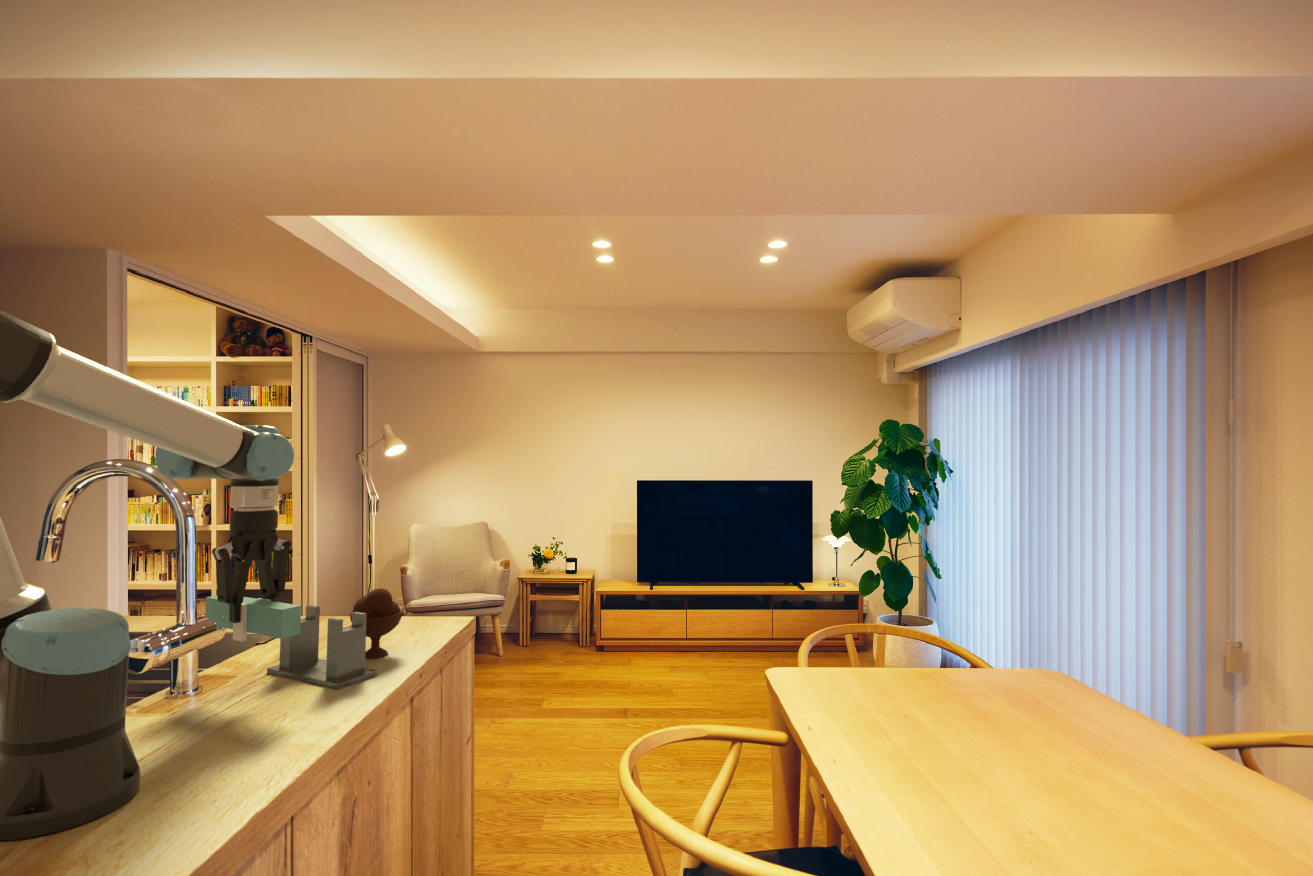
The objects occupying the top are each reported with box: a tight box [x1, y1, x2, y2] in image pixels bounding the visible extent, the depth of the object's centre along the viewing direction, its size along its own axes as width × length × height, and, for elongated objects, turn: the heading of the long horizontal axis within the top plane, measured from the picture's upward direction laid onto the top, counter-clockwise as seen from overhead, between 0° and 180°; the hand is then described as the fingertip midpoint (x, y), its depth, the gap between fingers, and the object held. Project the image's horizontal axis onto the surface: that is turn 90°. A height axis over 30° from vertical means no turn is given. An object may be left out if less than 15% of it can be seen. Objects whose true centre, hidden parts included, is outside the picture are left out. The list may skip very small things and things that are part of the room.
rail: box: [204, 595, 302, 639], centre depth 117 cm, size 22×4×5 cm, turn 65°
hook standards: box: [266, 604, 378, 690], centre depth 130 cm, size 9×21×12 cm, turn 65°
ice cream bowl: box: [349, 588, 403, 660], centre depth 143 cm, size 11×11×15 cm
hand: (251, 636), depth 116 cm, fingers closed on rail, 3 cm apart
